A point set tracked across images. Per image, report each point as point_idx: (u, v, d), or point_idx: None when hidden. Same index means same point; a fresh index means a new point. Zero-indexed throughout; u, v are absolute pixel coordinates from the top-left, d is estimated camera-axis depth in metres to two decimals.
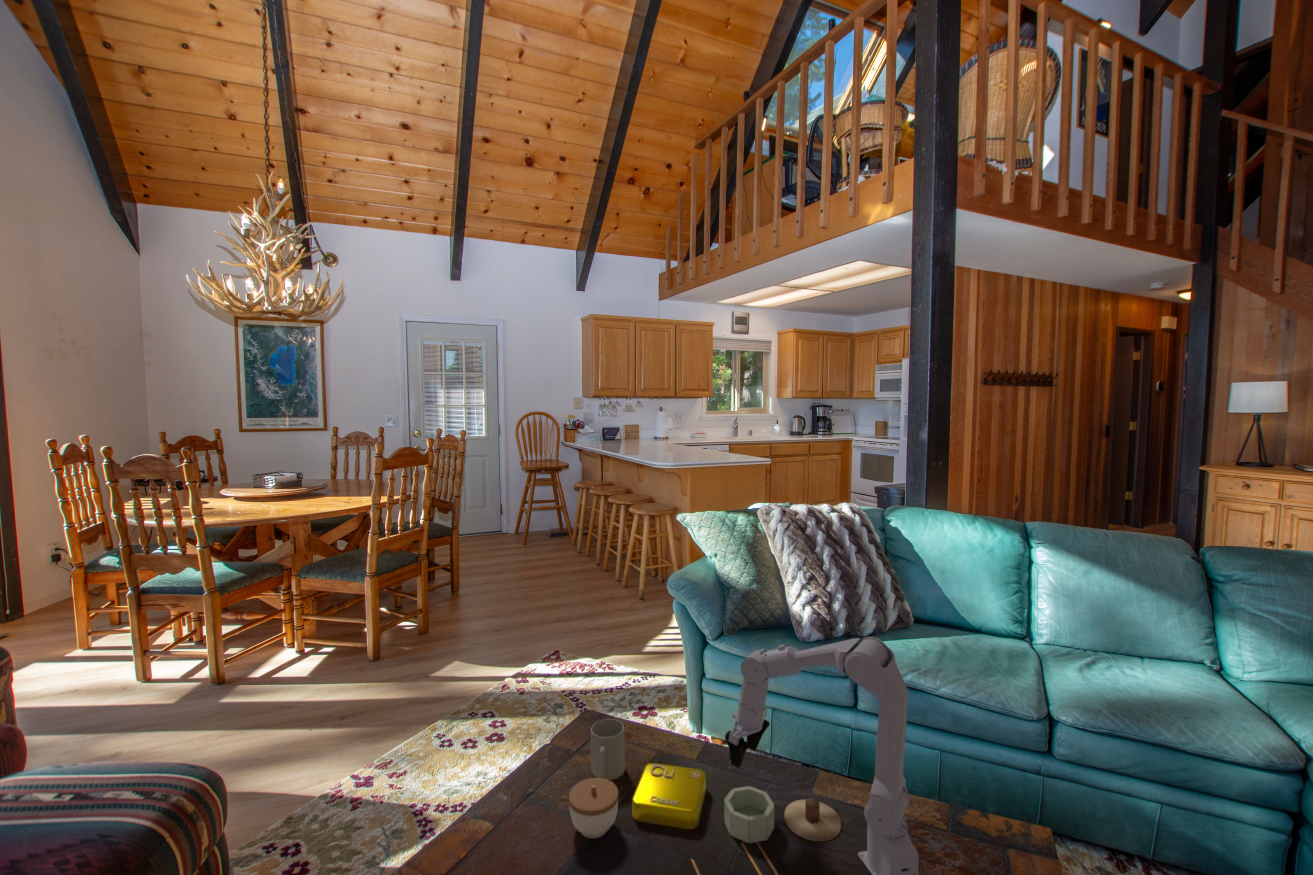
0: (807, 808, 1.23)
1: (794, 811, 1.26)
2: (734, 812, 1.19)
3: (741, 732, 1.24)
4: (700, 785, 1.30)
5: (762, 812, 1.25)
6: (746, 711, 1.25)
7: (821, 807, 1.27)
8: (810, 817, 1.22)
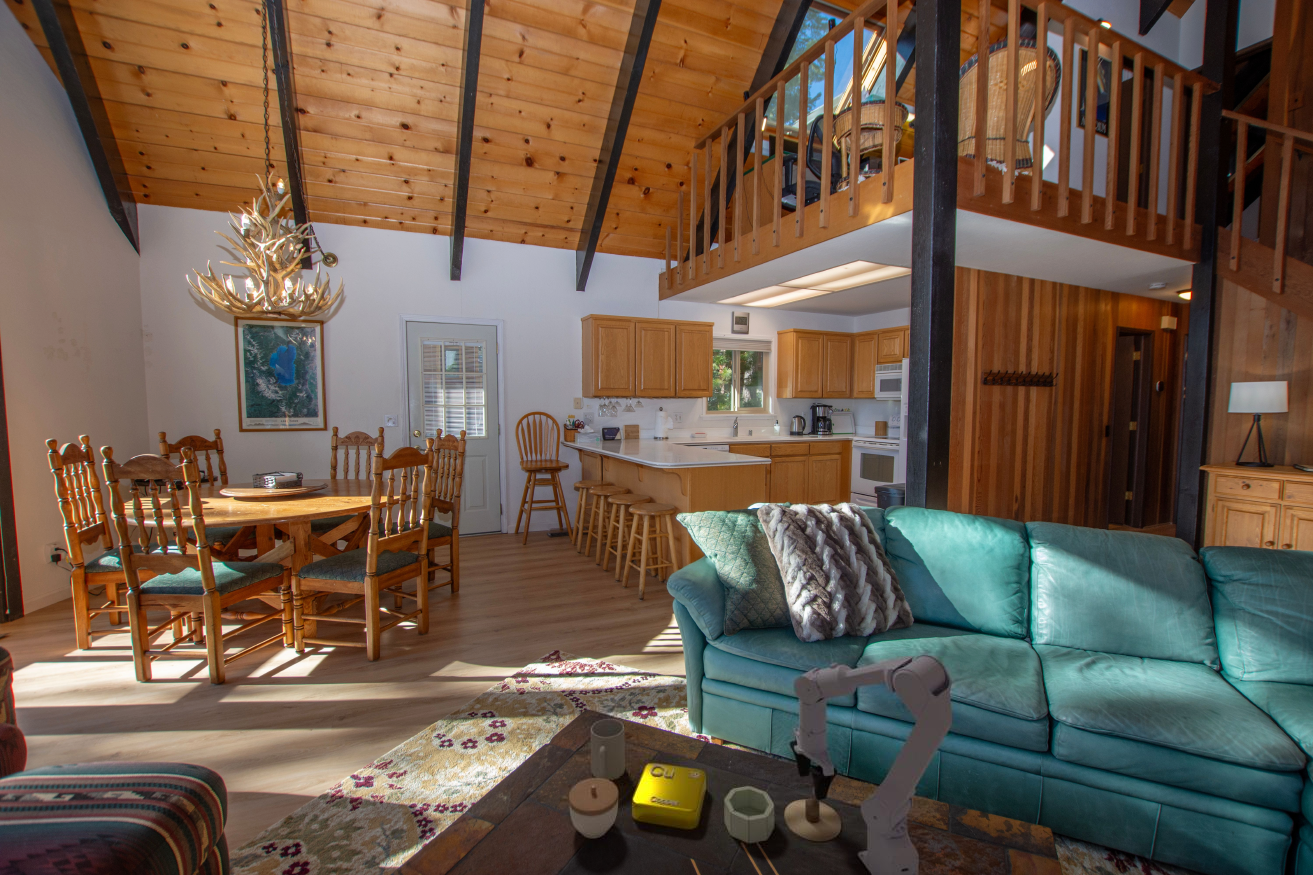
0: (807, 808, 1.23)
1: (794, 811, 1.26)
2: (734, 812, 1.19)
3: (826, 759, 1.18)
4: (700, 785, 1.30)
5: (762, 812, 1.25)
6: (819, 736, 1.20)
7: (821, 807, 1.27)
8: (810, 817, 1.22)
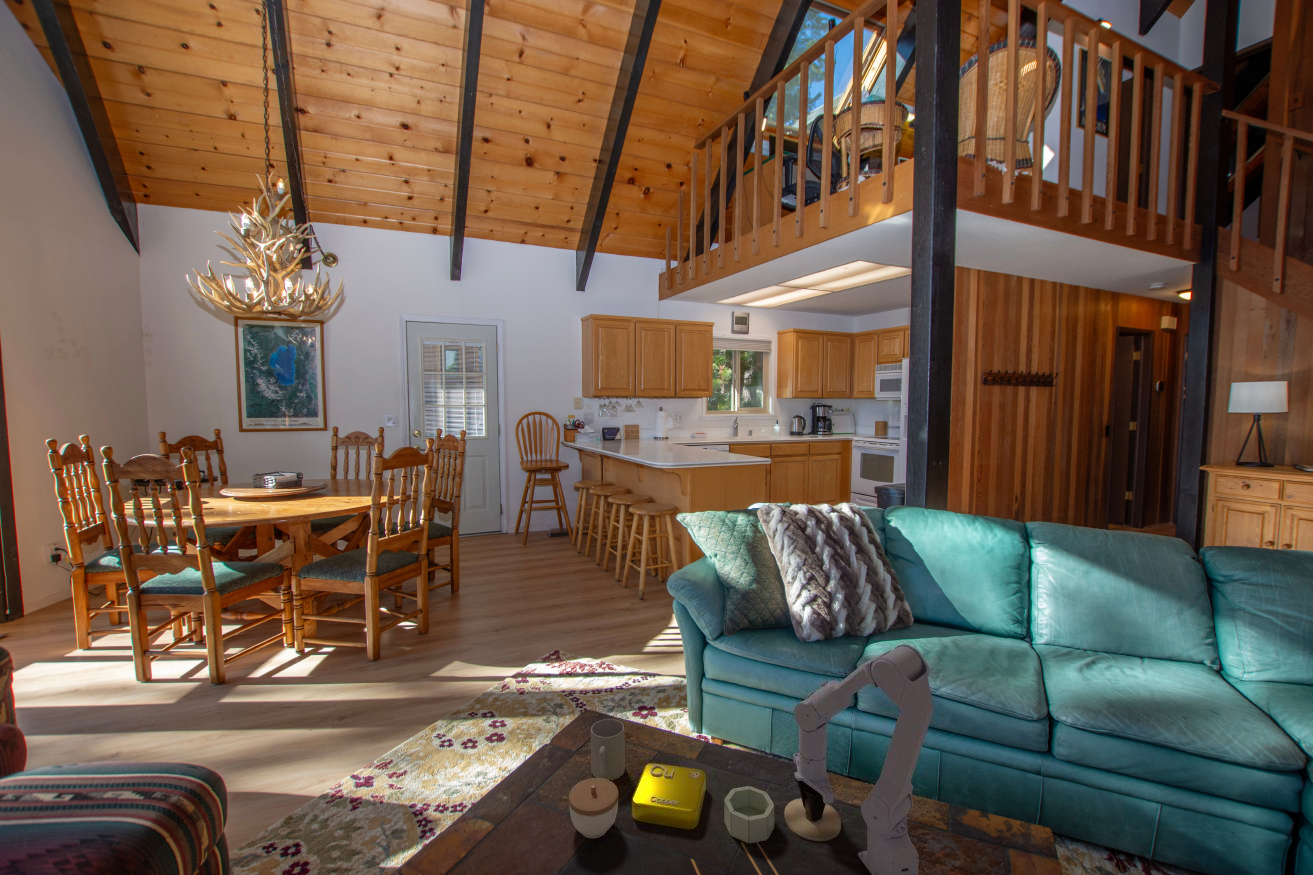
0: (807, 806, 1.23)
1: (794, 809, 1.26)
2: (734, 812, 1.19)
3: (826, 787, 1.19)
4: (700, 785, 1.30)
5: (762, 812, 1.25)
6: (819, 763, 1.20)
7: None
8: (810, 816, 1.22)
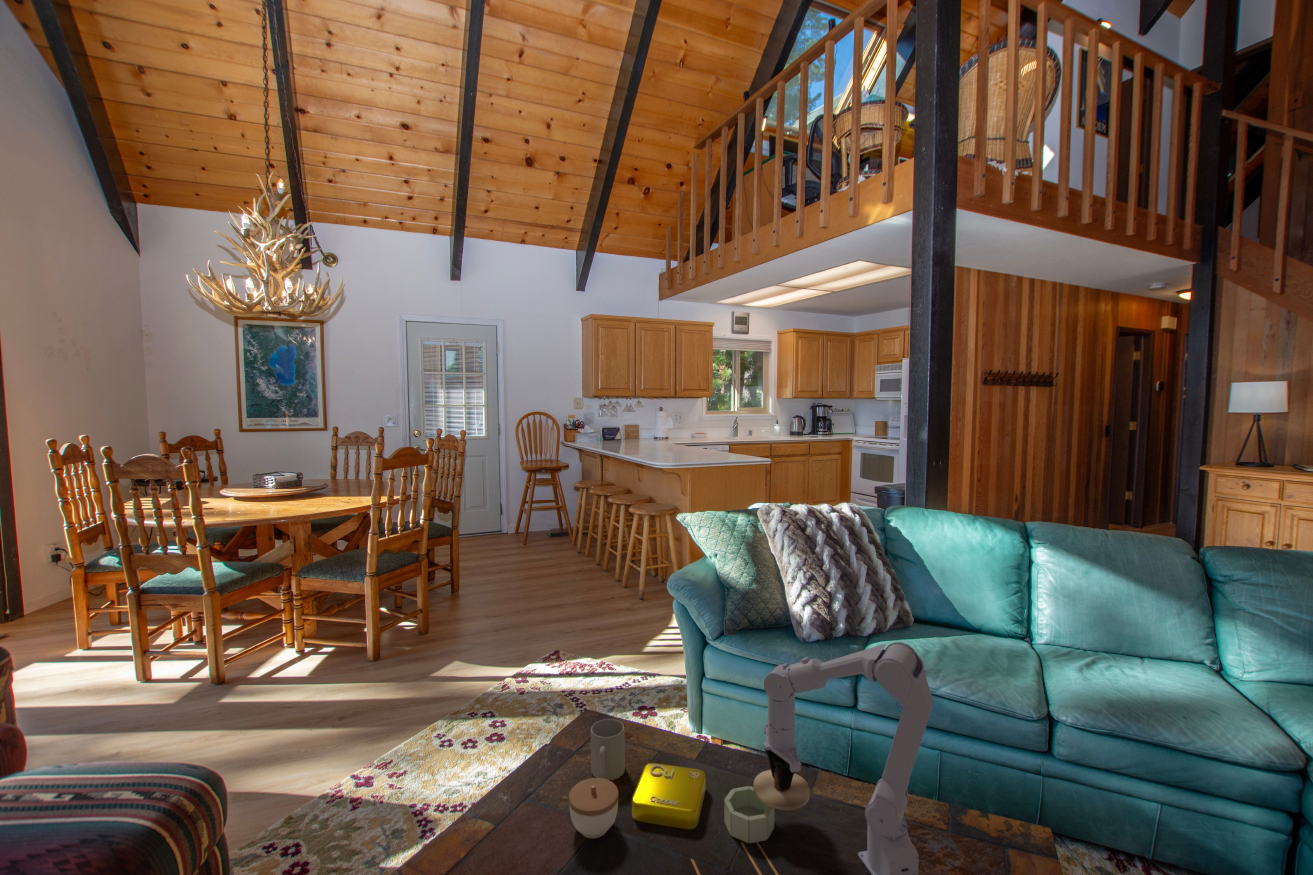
0: (776, 776, 1.22)
1: (763, 780, 1.25)
2: (734, 812, 1.19)
3: (793, 756, 1.18)
4: (700, 785, 1.30)
5: (762, 812, 1.25)
6: (787, 732, 1.19)
7: None
8: (778, 786, 1.22)
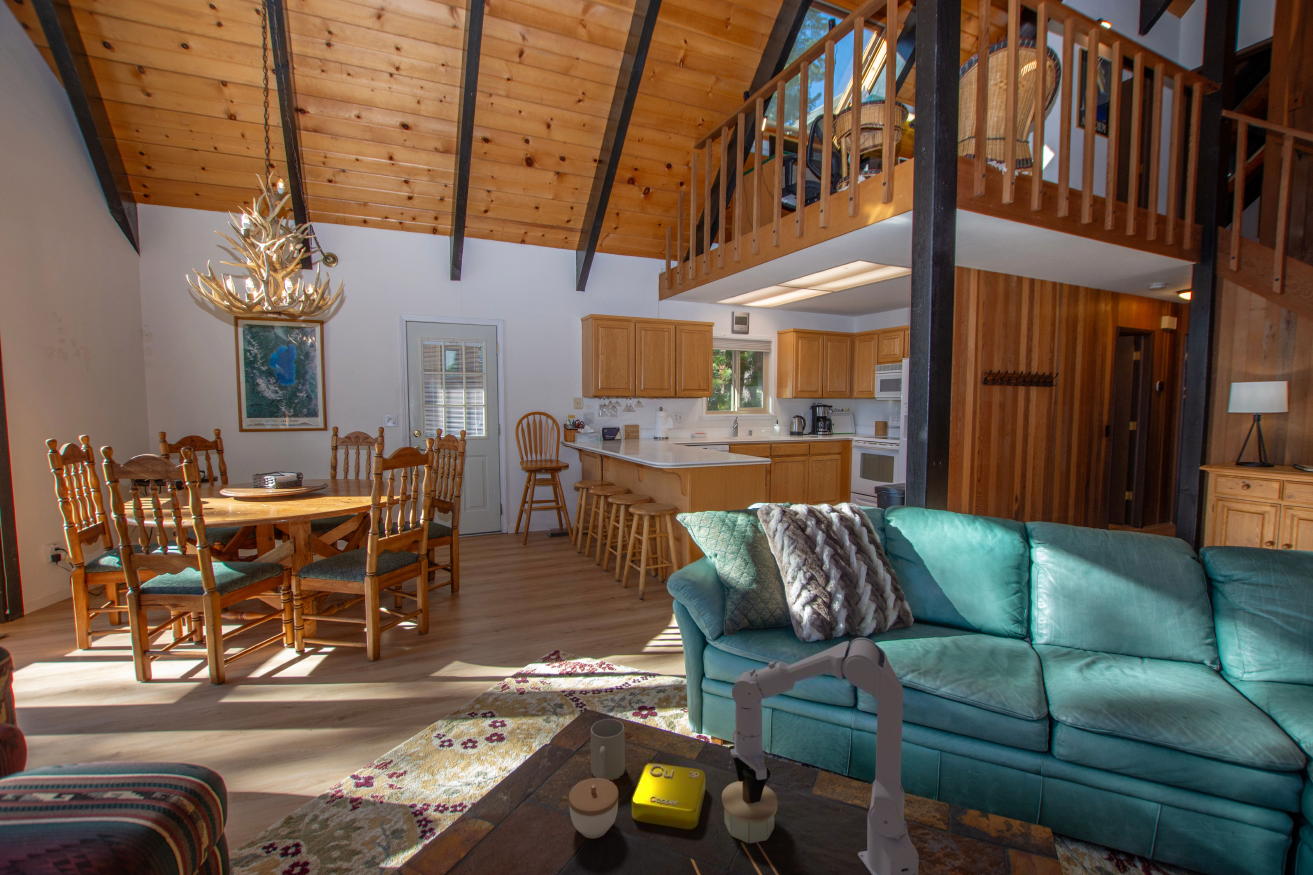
0: (744, 788, 1.22)
1: (732, 792, 1.25)
2: None
3: (760, 763, 1.17)
4: (699, 785, 1.30)
5: None
6: (754, 739, 1.19)
7: None
8: (746, 797, 1.21)
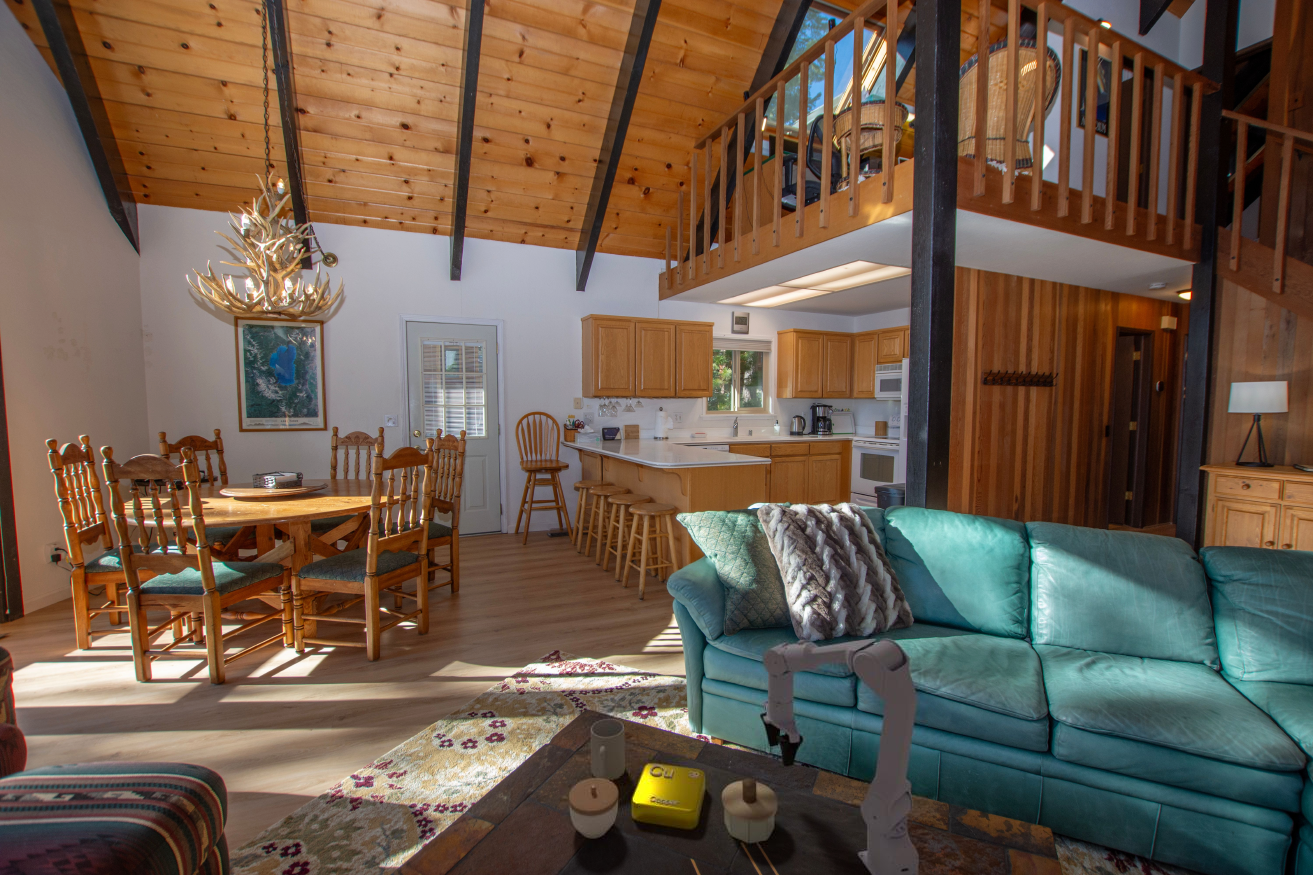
0: (744, 788, 1.22)
1: (732, 792, 1.25)
2: None
3: (792, 728, 1.25)
4: (699, 785, 1.30)
5: None
6: (786, 706, 1.27)
7: (760, 788, 1.26)
8: (746, 797, 1.21)
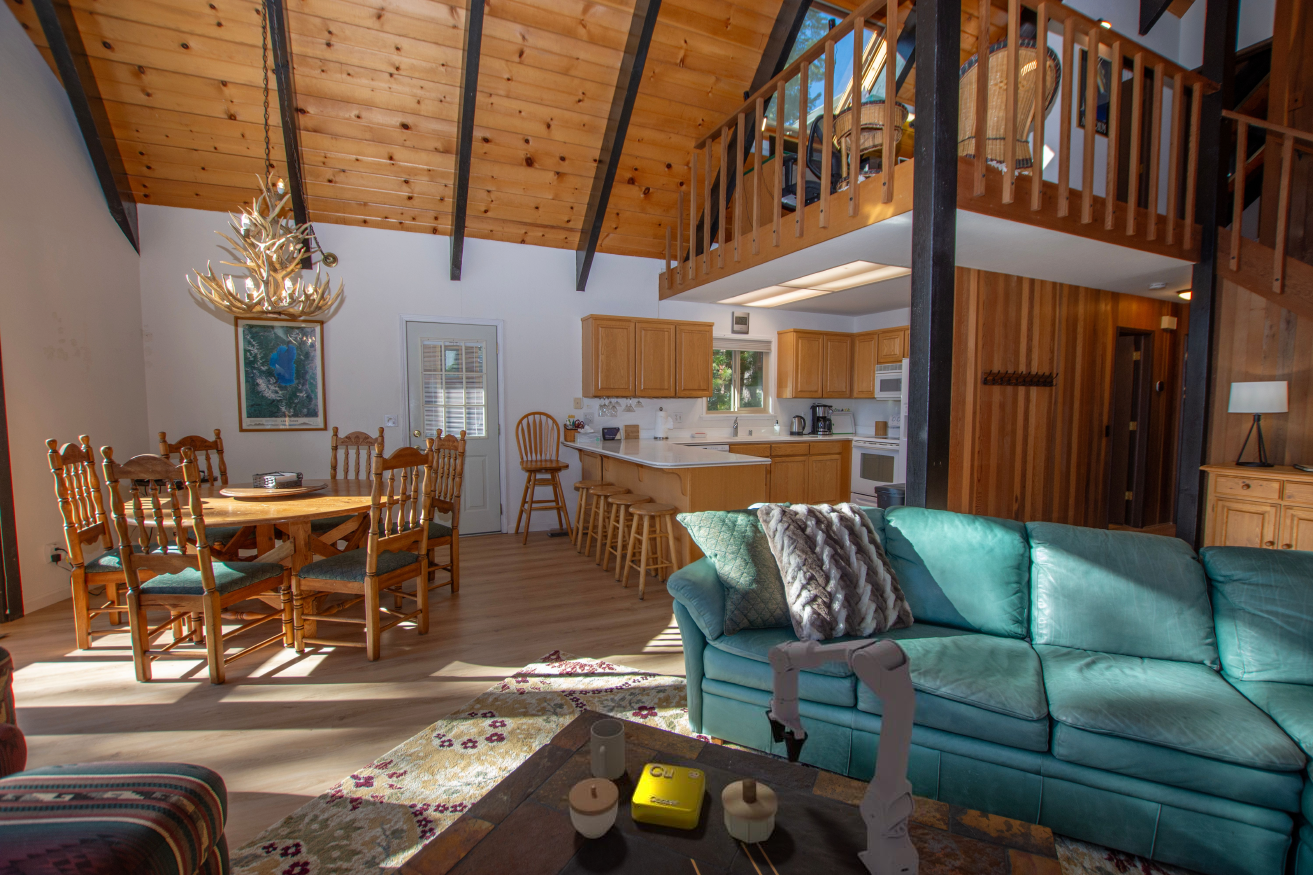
0: (744, 788, 1.22)
1: (732, 792, 1.25)
2: None
3: (798, 724, 1.27)
4: (699, 785, 1.30)
5: None
6: (791, 703, 1.28)
7: (760, 788, 1.26)
8: (746, 797, 1.21)
